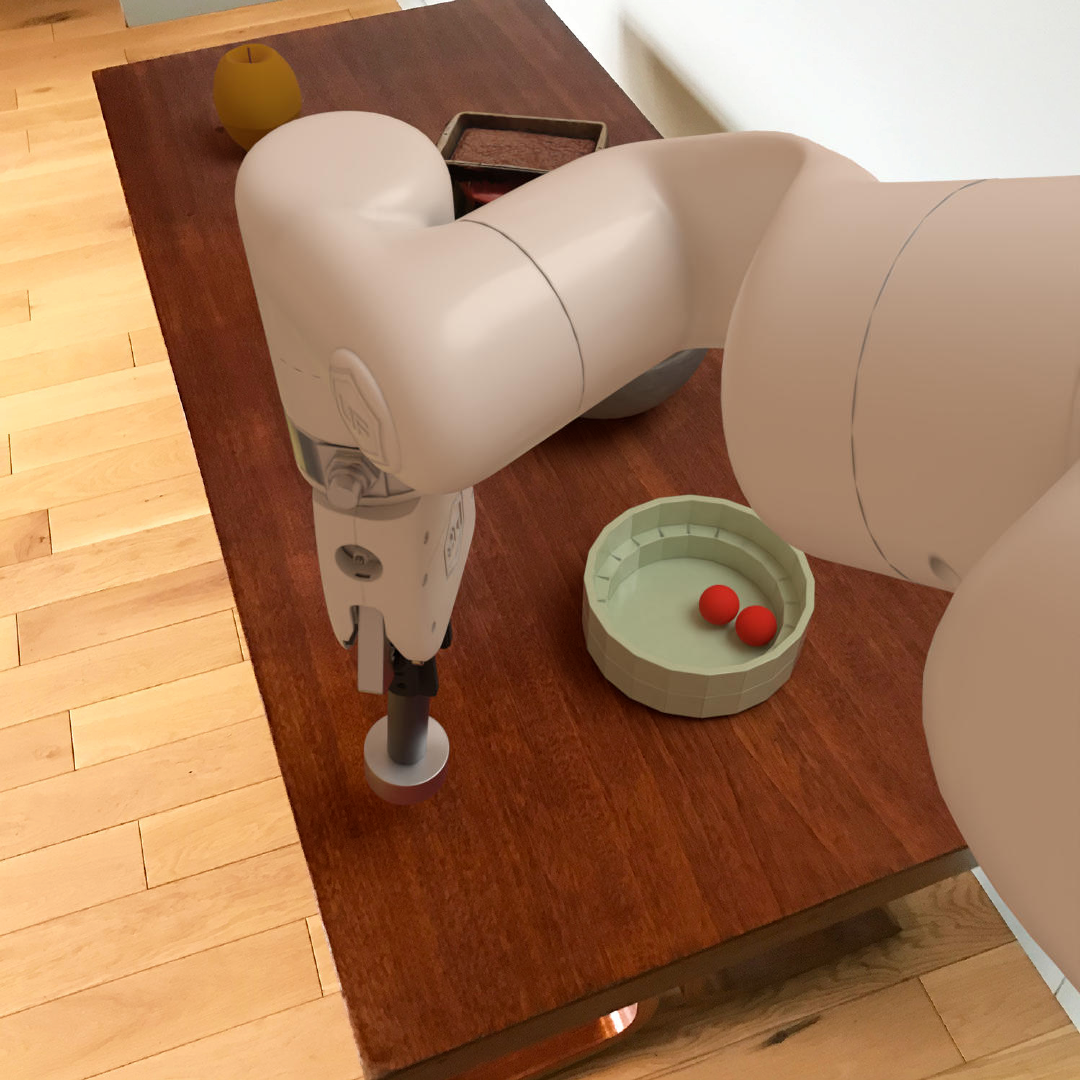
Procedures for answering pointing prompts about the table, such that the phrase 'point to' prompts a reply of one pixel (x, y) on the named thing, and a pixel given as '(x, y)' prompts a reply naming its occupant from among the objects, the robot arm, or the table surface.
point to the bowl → (650, 386)
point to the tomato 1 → (719, 604)
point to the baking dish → (510, 152)
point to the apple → (255, 93)
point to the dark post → (406, 752)
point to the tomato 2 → (756, 625)
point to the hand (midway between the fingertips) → (416, 662)
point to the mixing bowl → (692, 605)
